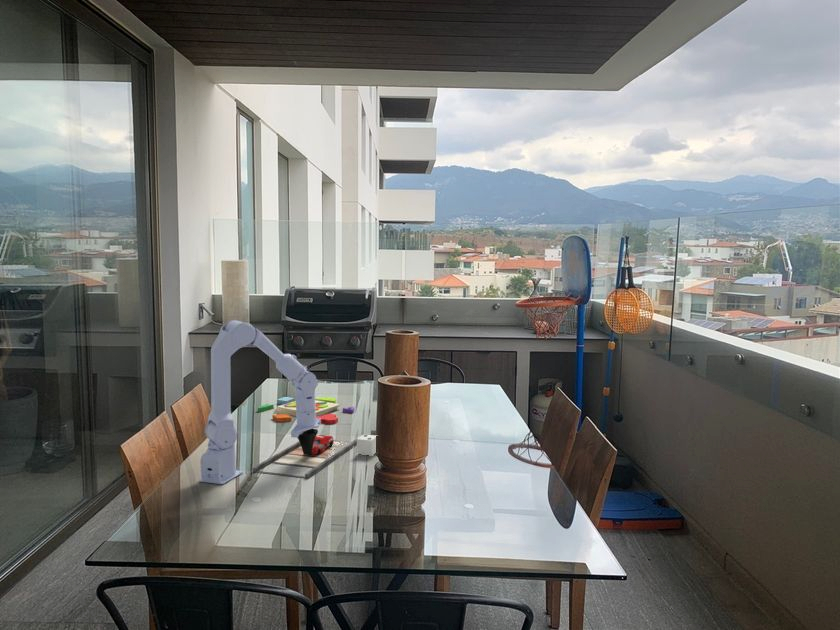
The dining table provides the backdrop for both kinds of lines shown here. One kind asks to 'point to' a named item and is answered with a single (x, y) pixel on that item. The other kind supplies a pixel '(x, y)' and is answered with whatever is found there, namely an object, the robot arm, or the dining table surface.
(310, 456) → the board
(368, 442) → the die
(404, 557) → the dining table surface
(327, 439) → the race car
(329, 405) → the pattern blocks set
